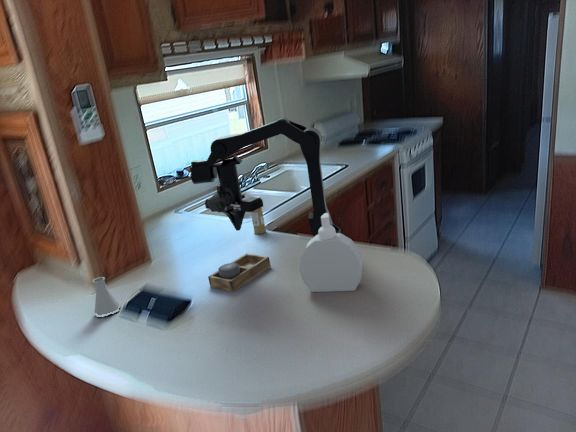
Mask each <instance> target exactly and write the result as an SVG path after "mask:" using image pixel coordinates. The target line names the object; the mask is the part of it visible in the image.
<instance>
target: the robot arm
mask: <svg viewBox="0 0 576 432" xmlns="http://www.w3.org/2000/svg"><path fill="white" fill-rule="evenodd" d="M279 135H283V136H284V137H286V138H287V139H289V140H291V141H293V142H294V143H296V144H299V147H300V151H301V153H302V156H303V157H304V160H305V163H306V167H307V174H308V175H307V176H308V181H309V187H310V188H309V189H310V196H311V203H312V209H313V211H312V212H309V214H308V219H307V220H308V223H309V233H311V234H312V236H313V238H314V237H315V236H316V235H318V230H319V229H320V228H321V227H322V222H321V216H322V215H323V214H324V213H328V215H329V221H330V225H331V226H333V227H334V228H335V231H336V233H341V228H340V227H338V226H337V225H336V224H334V222H333V220H332V218H331V214H330V211H329V209H328V206H327V203H326V193H325V188H324V187H325V186H324V180H323V179H324V178H323V171H322V164H321V153H322V152H321V150H322V134H321V132H320V130H319V129H318V128H316V127H312V126H310V127H307V126H304V125H303V124H299V123H297V122H294V121H291V120H290V119H288V118H286V117H281V118H279V119H278V120H275V121H271V122H269V123H267V124H263V125H261V126H259V127H256V128H253V129H250V130H248V131H244V132H242V133H235V134H234V133H233V134H227V135H221V136H219V137H218V138H216V139H214V140H213V141H211V145H210V154H209V155H208V158H207V159H202V160H198V159H197V160H192V161H191V162H190V165H191V167H190V179H191V181H192V183H193V185H199V184H201V185H202V184H210V183H213V182H215V179H217V178H218V184H219V185H217V186H216V193H214V194H213V195H212V196H210V197H208V198H206V199H205V201H204V206H205V209H206V210H210V211H211V212H212V213H214V212H217V213H223V214H224V215H226V216H227V217H228V219H229V221H230V222H231V224H232V225H233V227H234V229H235V231H240V230H241V229H242V226H243V222H244V218H245V214H246V213H251V212H253V211H255V210H257V209H259V208H261V207H264V200H263V199H262V197H260V196H250V197H248V198H246V196H245V193H242V189H241V186H242V185H243V181H242V180H240V179H239V175H238V170H237V167H238V166H237V165H240V164H242V162H243V159H242V158H241V157H238V156H237V154H235V153H237V152H239V151H240V150H242V149H243V148H246V147H248V146H251V145H253V144H257V143H259V142H262V141H265V140H268V139H271V138H273V137H277V136H279ZM233 154H234V155H233ZM232 155H233V157H232V158H228V157H230V156H232ZM219 160H222V161H221V162H218V161H219ZM217 162H218V163H217Z"/></svg>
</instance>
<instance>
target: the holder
mask: <svg viewBox="0 0 576 432" xmlns="http://www.w3.org/2000/svg"><path fill="white" fill-rule="evenodd" d="M231 263H237V264H239V268H240V274H239V275H237V276H236V277H234V278H233V279H231V280H230V279H225V278H220V275H219V270H216V271H215V272H213V273H211V274H210V275H209V276H207V278H208V283H209V287H210V288H213V289H217V290H222V291H227V292H231V293H235V292H236V291H237V290H239V289H240V288H242V287H243V286H244V285H246V284H247V283H249V282H250V281H252V280H253V279H255V278H256V277H258V276H259V275H260V274H262V273H263V272H265V271H267V270H268V269H269V268H271V262H270V257H269V256H267V255H266V256H265V255H259V254H252V253H245V254H244V255H242V256H240V257H238V258H237V259H235V260H234V261H232V262H231Z"/></svg>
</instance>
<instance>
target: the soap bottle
mask: <svg viewBox="0 0 576 432" xmlns="http://www.w3.org/2000/svg"><path fill="white" fill-rule="evenodd" d="M321 222H322V227H321V228H320V229H319V230H318V235H316V236H315V237H314V236H313V237H312V238H311V239H310V240H309V241H308V242H307V244H306V247H305V248H304V249H303V252H302V255H301V256H300V260H299V261H300V262H299V273H300V275H301V279H302V281H303V283H304V284H305V286H306V287H307V288H308V290H309V291H310V292H311V293H323V292H324V293H326V292H327V293H328V292H329V293H331V292H332V293H333V292H354V291H356V290H357V288H358V287H359V284H360V283H361V281H362V280H361V279H362V274H363V264H364V262H363V261H364V260H363V257H362V253H361V250H360V248H359V247H358V246H357V244H356V243H355V242H354V241H353V240H352V239H351V238H350V237H348V236H346V235H344V234H343V233H341V232H340V233H336V231H335V228H334V227H333V226H331V225H330V221H329V215H328V213H324V214H323V215H322V216H321Z"/></svg>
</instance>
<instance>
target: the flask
mask: <svg viewBox="0 0 576 432" xmlns="http://www.w3.org/2000/svg"><path fill="white" fill-rule="evenodd" d="M105 280H106V277H104V276H99V277H97V278H93V280H91V281H92V283H93V285H94V287H95V302H94V303H95V306H94V312H95V313H97V314H98V315H102V314H107V313H110V312H113V311H115V310H117V309H118V307H119V304H120V303H119V302H118V301H117V299H116V297H114V295H113V294H112V293H111V292H110V290H109V288H108V287H107V285H106V282H105Z"/></svg>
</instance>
